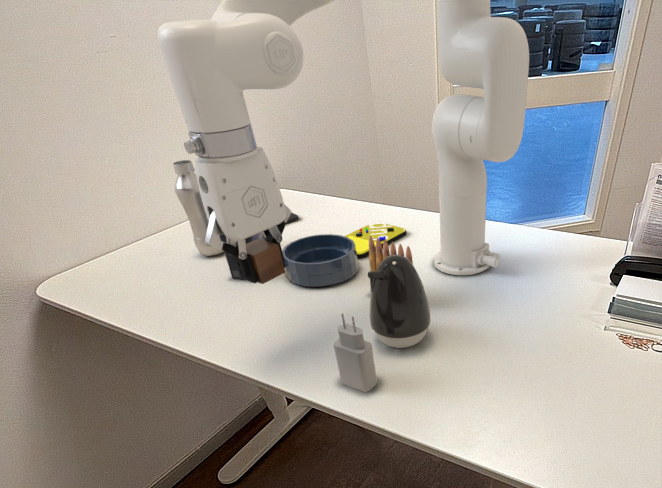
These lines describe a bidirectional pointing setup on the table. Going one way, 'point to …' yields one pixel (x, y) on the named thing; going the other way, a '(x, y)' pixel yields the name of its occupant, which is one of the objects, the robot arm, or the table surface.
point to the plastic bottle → (193, 204)
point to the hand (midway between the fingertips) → (264, 272)
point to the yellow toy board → (375, 236)
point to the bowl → (320, 260)
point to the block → (265, 259)
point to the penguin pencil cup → (398, 303)
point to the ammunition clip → (383, 254)
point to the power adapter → (354, 358)
